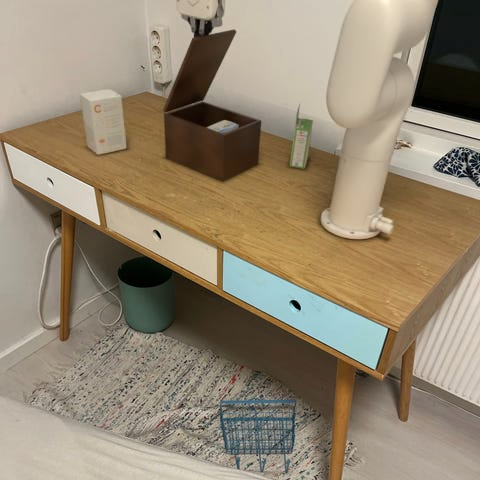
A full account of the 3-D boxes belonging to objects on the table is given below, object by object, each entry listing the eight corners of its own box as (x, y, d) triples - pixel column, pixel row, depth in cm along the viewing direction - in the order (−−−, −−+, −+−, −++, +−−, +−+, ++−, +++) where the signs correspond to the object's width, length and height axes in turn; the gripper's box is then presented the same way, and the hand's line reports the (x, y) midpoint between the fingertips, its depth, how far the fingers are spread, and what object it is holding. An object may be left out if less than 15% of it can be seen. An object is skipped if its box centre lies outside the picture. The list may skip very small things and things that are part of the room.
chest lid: (236, 31, 111) (234, 29, 111) (194, 40, 103) (192, 37, 103) (203, 100, 126) (201, 98, 126) (164, 112, 118) (162, 110, 118)
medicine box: (223, 154, 127) (224, 119, 121) (237, 159, 125) (239, 123, 119) (203, 163, 122) (203, 127, 116) (217, 169, 120) (218, 132, 114)
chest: (258, 164, 125) (261, 120, 118) (222, 181, 117) (224, 135, 110) (202, 143, 134) (202, 101, 126) (165, 158, 125) (163, 113, 118)
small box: (115, 140, 132) (110, 88, 123) (127, 149, 128) (122, 95, 120) (86, 146, 128) (78, 92, 119) (97, 155, 124) (90, 100, 116)
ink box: (305, 169, 124) (313, 114, 116) (289, 167, 125) (296, 112, 116) (307, 158, 130) (315, 104, 121) (292, 156, 130) (299, 102, 121)
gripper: (161, -53, 100) (165, 49, 112) (218, -44, 94) (215, 63, 106) (187, -54, 105) (188, 44, 117) (243, -46, 98) (238, 57, 110)
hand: (201, 53), depth 111 cm, fingers closed
